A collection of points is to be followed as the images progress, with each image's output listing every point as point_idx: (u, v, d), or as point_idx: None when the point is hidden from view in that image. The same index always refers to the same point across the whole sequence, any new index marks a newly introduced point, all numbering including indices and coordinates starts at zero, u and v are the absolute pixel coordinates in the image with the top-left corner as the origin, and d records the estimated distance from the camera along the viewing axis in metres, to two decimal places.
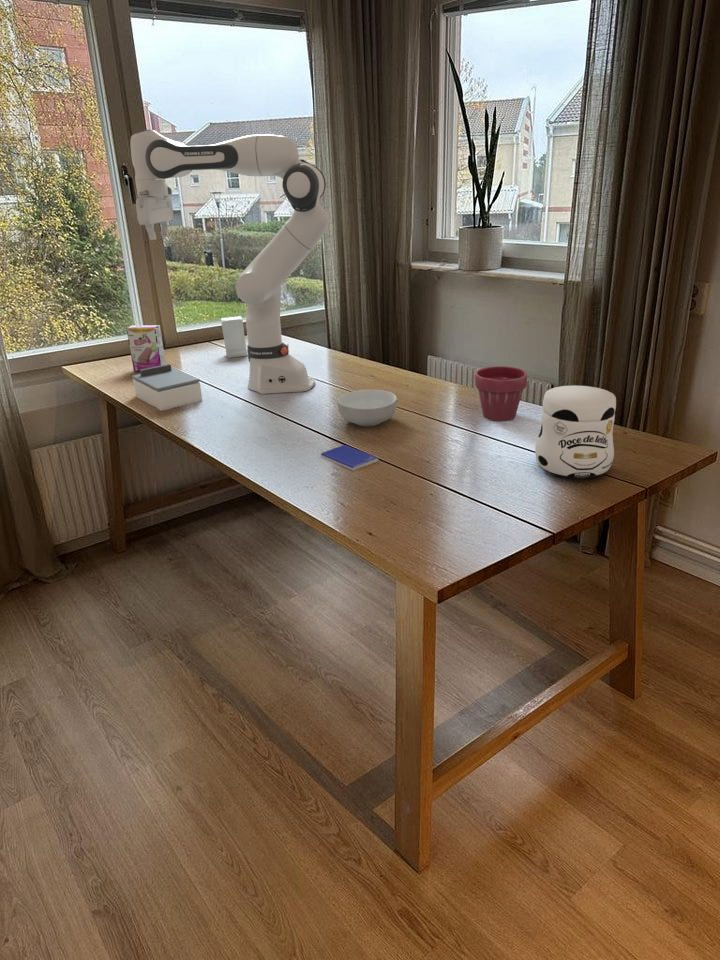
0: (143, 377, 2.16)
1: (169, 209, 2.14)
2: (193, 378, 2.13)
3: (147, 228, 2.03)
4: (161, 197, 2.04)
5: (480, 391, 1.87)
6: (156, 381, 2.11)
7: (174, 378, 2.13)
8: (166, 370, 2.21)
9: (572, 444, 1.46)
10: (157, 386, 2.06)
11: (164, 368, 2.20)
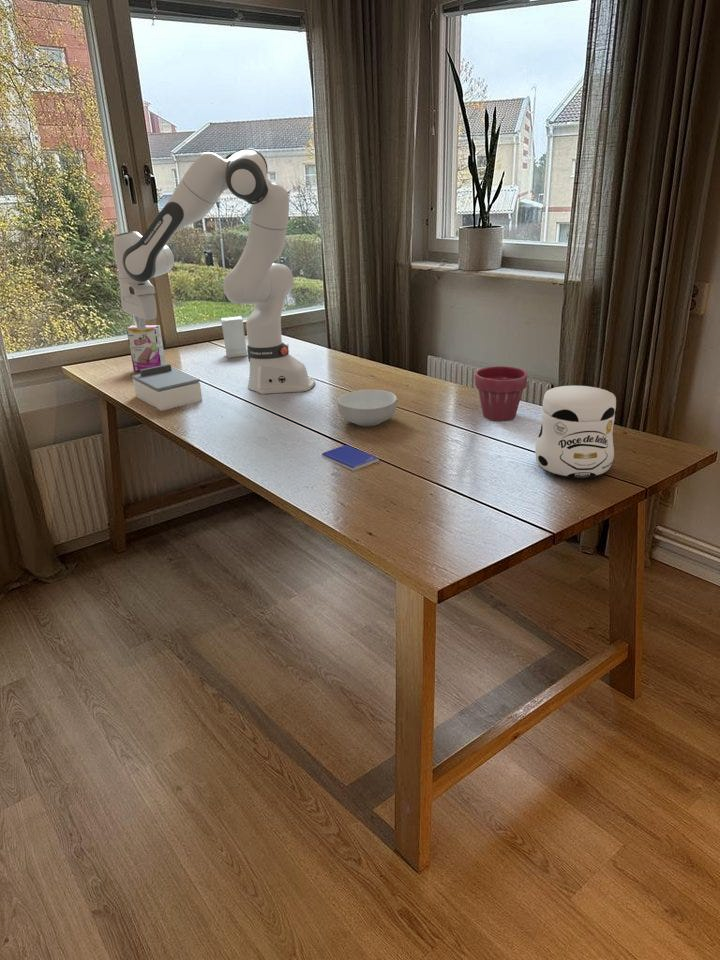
0: (143, 377, 2.16)
1: (141, 308, 2.09)
2: (193, 378, 2.13)
3: None
4: (125, 293, 2.12)
5: (480, 391, 1.87)
6: (156, 381, 2.11)
7: (174, 378, 2.13)
8: (166, 370, 2.21)
9: (572, 444, 1.46)
10: (157, 386, 2.06)
11: (164, 368, 2.20)
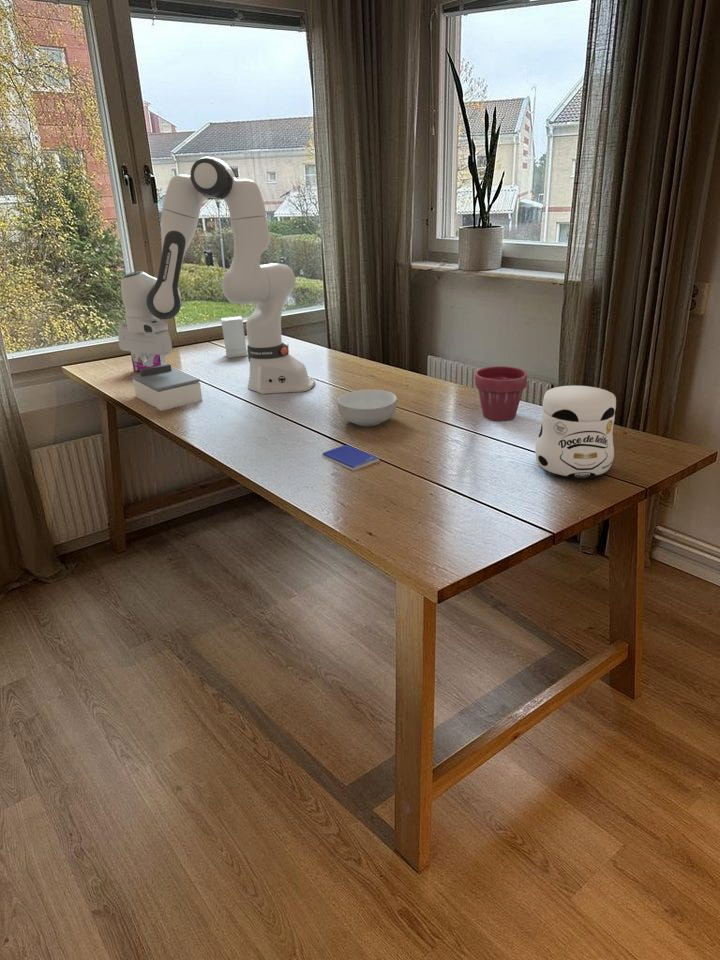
0: (143, 377, 2.16)
1: (157, 345, 2.16)
2: (193, 378, 2.13)
3: None
4: (133, 332, 2.17)
5: (480, 391, 1.87)
6: (156, 381, 2.11)
7: (174, 378, 2.13)
8: (166, 370, 2.21)
9: (572, 444, 1.46)
10: (157, 386, 2.06)
11: (164, 368, 2.20)
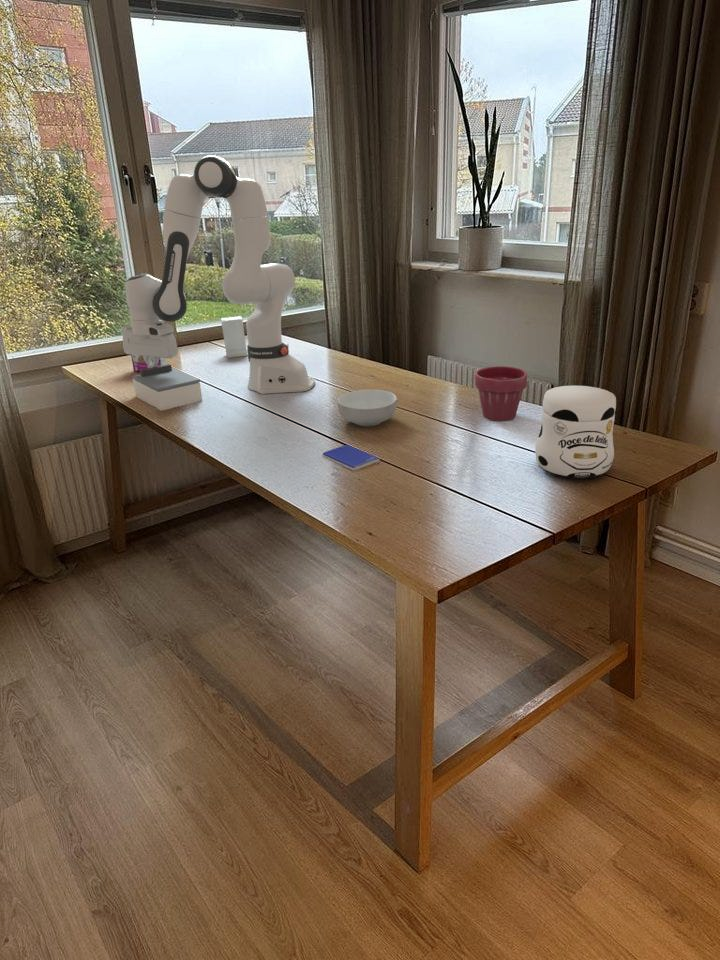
0: (143, 377, 2.15)
1: (163, 348, 2.13)
2: (193, 378, 2.13)
3: None
4: (138, 335, 2.14)
5: (480, 391, 1.87)
6: (156, 381, 2.11)
7: (174, 378, 2.13)
8: (166, 370, 2.21)
9: (572, 444, 1.46)
10: (157, 386, 2.06)
11: (165, 368, 2.20)
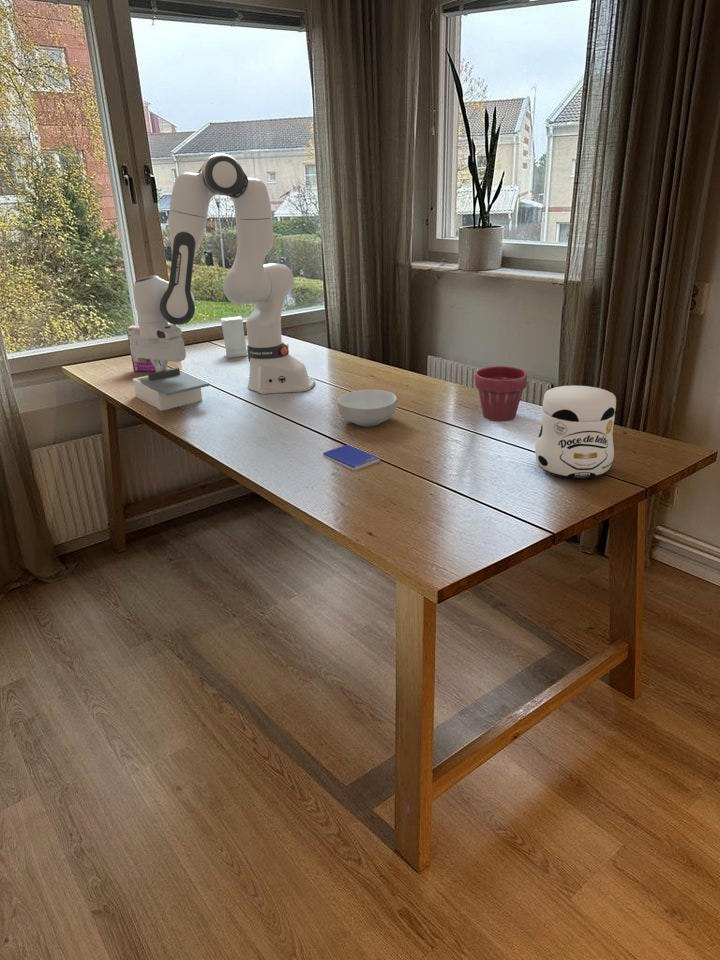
0: (151, 381, 2.11)
1: (171, 351, 2.09)
2: (202, 382, 2.08)
3: None
4: (146, 338, 2.10)
5: (480, 391, 1.87)
6: (165, 385, 2.06)
7: (183, 382, 2.09)
8: (175, 374, 2.16)
9: (572, 444, 1.46)
10: (166, 391, 2.01)
11: (173, 372, 2.16)
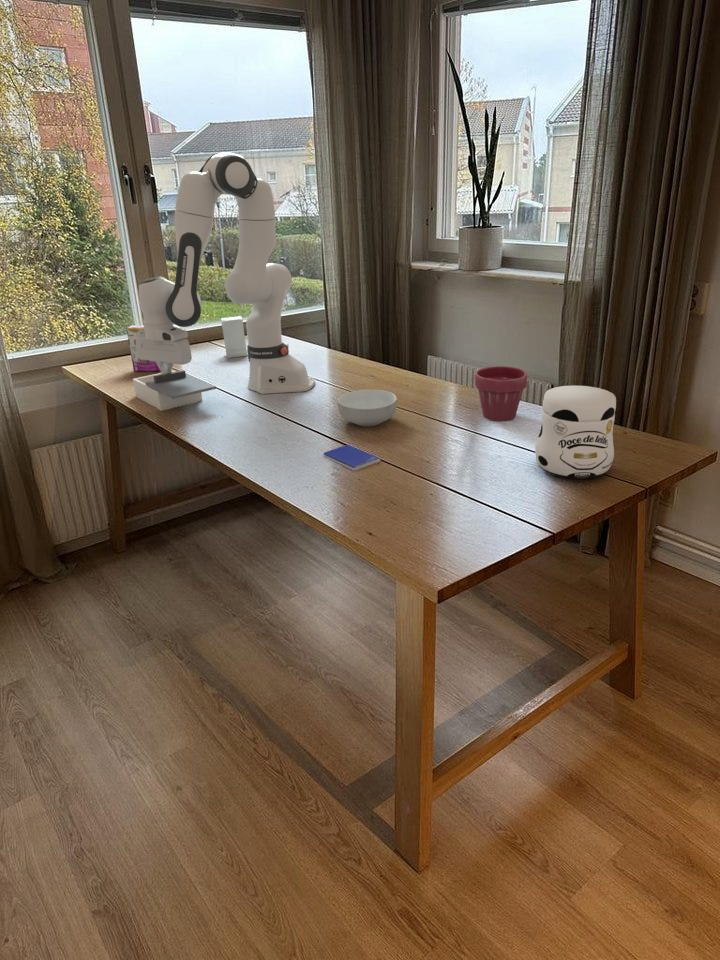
0: (157, 384, 2.08)
1: (176, 353, 2.05)
2: (209, 385, 2.05)
3: None
4: (151, 340, 2.07)
5: (480, 391, 1.87)
6: (171, 388, 2.03)
7: (189, 385, 2.05)
8: (180, 377, 2.13)
9: (572, 444, 1.46)
10: (172, 394, 1.98)
11: (179, 374, 2.12)
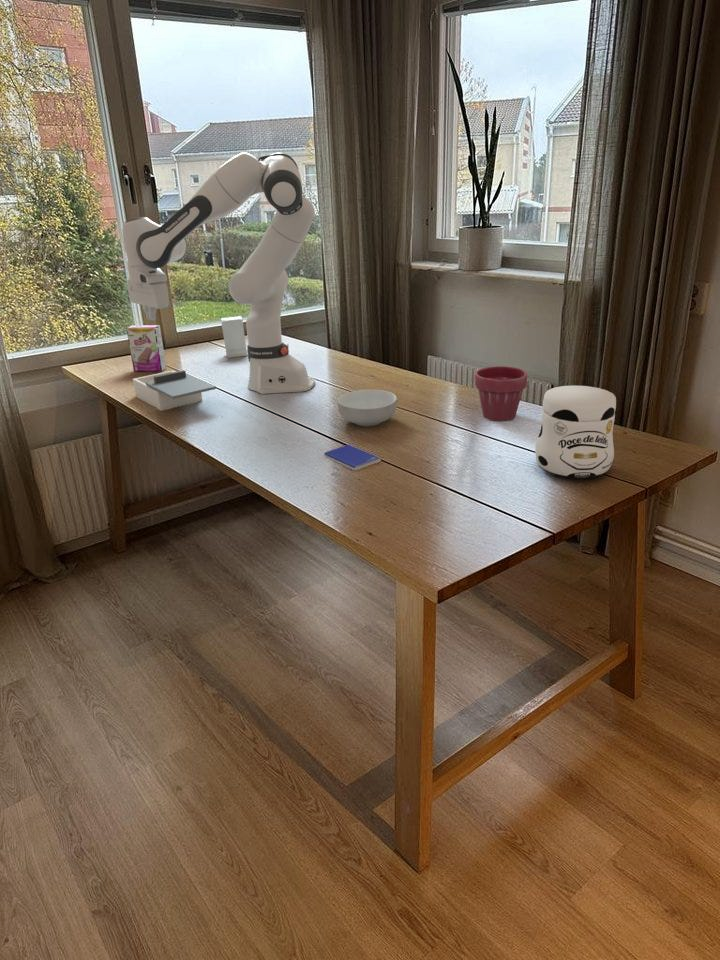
0: (157, 384, 2.08)
1: (153, 297, 2.02)
2: (209, 385, 2.05)
3: None
4: (134, 282, 2.05)
5: (480, 391, 1.87)
6: (171, 388, 2.03)
7: (189, 385, 2.05)
8: (181, 377, 2.13)
9: (572, 444, 1.46)
10: (172, 394, 1.98)
11: (179, 374, 2.12)
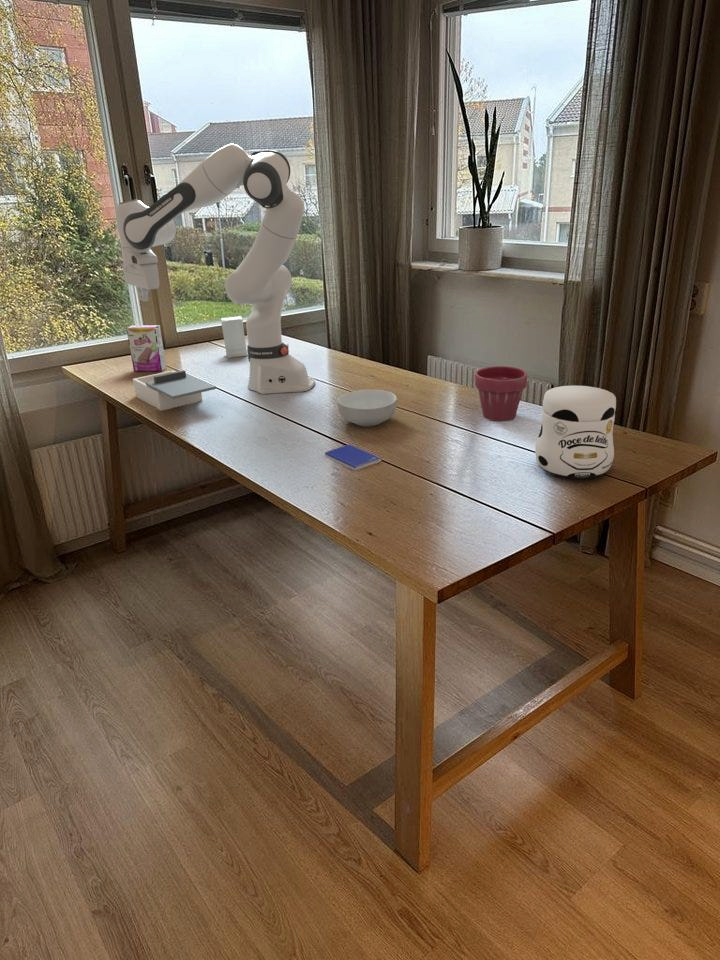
0: (157, 384, 2.08)
1: (144, 278, 2.08)
2: (209, 385, 2.05)
3: None
4: (128, 263, 2.11)
5: (480, 391, 1.87)
6: (171, 388, 2.03)
7: (189, 385, 2.05)
8: (181, 377, 2.13)
9: (572, 444, 1.46)
10: (172, 394, 1.98)
11: (179, 374, 2.12)
